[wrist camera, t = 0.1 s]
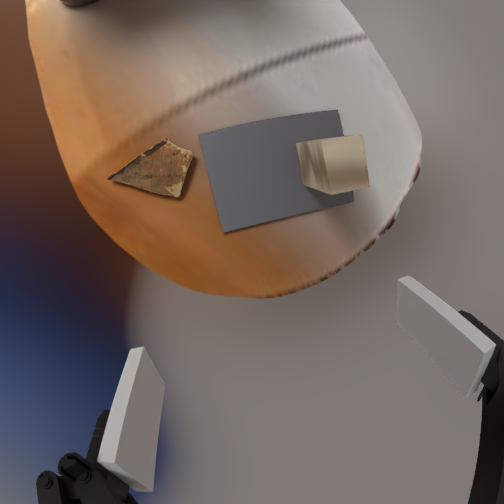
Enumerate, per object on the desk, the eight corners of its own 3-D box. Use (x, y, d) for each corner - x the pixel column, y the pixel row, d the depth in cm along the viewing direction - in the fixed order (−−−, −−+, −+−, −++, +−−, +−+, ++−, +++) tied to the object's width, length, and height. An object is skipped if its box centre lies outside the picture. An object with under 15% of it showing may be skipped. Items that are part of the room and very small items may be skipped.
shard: (110, 178, 35) (106, 179, 34) (126, 127, 33) (122, 125, 32) (179, 198, 38) (178, 200, 36) (197, 146, 36) (196, 145, 34)
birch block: (295, 143, 36) (320, 140, 27) (327, 138, 36) (361, 134, 27) (303, 184, 38) (330, 195, 29) (335, 178, 38) (369, 186, 29)
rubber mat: (198, 135, 35) (198, 134, 34) (336, 110, 35) (337, 109, 35) (223, 231, 40) (223, 232, 39) (352, 200, 40) (353, 201, 40)
